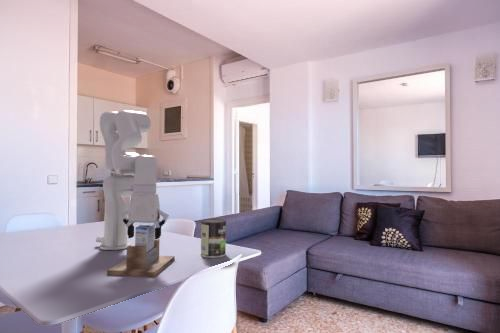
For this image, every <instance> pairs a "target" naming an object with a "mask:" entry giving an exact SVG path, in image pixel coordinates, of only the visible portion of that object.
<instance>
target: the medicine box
mask: <svg viewBox="0 0 500 333" xmlns="http://www.w3.org/2000/svg"><path fill="white" fill-rule="evenodd" d="M155 228H156V225H155V224H154V223H142V224H140V225H138V226H136V227H135V228H134V239H135V240H134V246H147V247H146V252H148V251H149V250H151V249H152V248H153V247H154V239H155Z"/></svg>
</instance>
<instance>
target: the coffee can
mask: <svg viewBox="0 0 500 333" xmlns="http://www.w3.org/2000/svg"><path fill="white" fill-rule="evenodd" d="M200 224H201V225H200V226H201V229H200V230H201V235H200V236H201V237H200V238H201V240H200V256H201V257H202V258H208V259H219V258H223V257H225V256H226V244H227V243H226V239H227V236H226V235H227V220H226V219H220V218H218V219H217V218H206V219H201V220H200Z"/></svg>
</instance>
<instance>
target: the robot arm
mask: <svg viewBox="0 0 500 333" xmlns="http://www.w3.org/2000/svg"><path fill="white" fill-rule="evenodd" d="M151 124H152V121H151V118H150V115H149V114H148V113H147V112H144V111H143V112H142V111H136V110H135V111H134V110H129V109H123V110H118V111H115V110H114V111H110V110H109V111H104V112H103V113H101V115H100V117H99V128H100V129H99V130H100V133H101V135H102V137H103V141H104V150H105V152H104V154H105V158H104V159H105V167H106V170H107V171H108V172H109V173H111V174H118V175H110V176H109V175H108V176H107V177H106V178H104V179H103V182H102V191H103V195H104V196H103V198H104V215H103V216H104V221H103V222H104V224H103V227H104V228H103V232H104V233H103V236H100V237H99V236H97V237H96V239H95V242H96V243H101V244H100V245H99V249H100V250H104V251H119V250H125V249H126V250H127V247H128V246H132V245H131V244H132V243H131V242H129V241H128V239H132V238H135V225H134V224H136V223H142V224H155V238H154V239H160V238H161V236H162V227H163V226H164V225H165V224H166V222H167V220H168V219H169V217H170V216H169V214H168V213H166V212H164V211H163V210H161V207H160V206H161V205H160V198H159V194H158V193H157V175H158V174H157V168H158V161H157V160H158V159H157V156H155V155H151V154H149V155H147V154H139V153H137V152H128V151H127V150H129V149H132V148H135V147H136V146H138V145H139V144H140V143H141V142H142V140H143V136H142V134H141V133H147V132H148V131H149V130H151V126H152V125H151ZM126 197H127V198H128V197H130V200H129V204H128V203H127V202H126V201H125V200H124V199H123V198H126ZM127 204H128V205H127ZM161 217H162V220H161V221H160V218H161Z"/></svg>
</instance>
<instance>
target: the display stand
mask: <svg viewBox="0 0 500 333" xmlns="http://www.w3.org/2000/svg"><path fill="white" fill-rule="evenodd" d="M146 247H147V246H135V245H131V246H128V247H127V248H126V257H125V258H126V259H124V260H122V261H121V262H119V263H117V264H115V265H113V266H112V267H110V268H109V269H107V271H106V276H107V275H108V276H125V277H126V276H128V277H129V276H130V277H146V278H147V277H148V278H151V277H152V278H155V277H156V276H157V275H159V274H160V273H161V272H162V271H163V270H165V269H166V268H167V267H168V266H169V265H170V264H172V263H173V262H174V261H175V260H176V258H175V255H160V238H158V239H155V238H154V247H153V248H152V249H151V250H149V251H148V252H146Z"/></svg>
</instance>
